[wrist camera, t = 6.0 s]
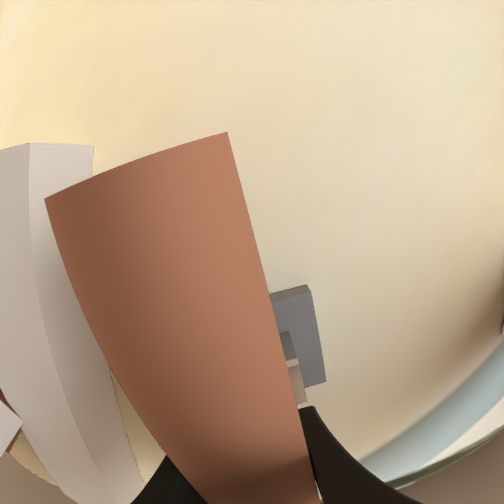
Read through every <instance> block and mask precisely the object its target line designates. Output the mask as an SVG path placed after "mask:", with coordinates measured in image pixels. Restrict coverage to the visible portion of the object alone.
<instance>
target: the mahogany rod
mask: <svg viewBox="0 0 504 504" xmlns="http://www.w3.org/2000/svg"><path fill="white" fill-rule="evenodd" d="M44 201H45V205H46V209H47V213H48V216H49V220H50V223H51V227H52V230H53V233H54V236H55V240H56V243H57V246H58V249H59V252H60V255H61V258H62V260H63V263H64V266H65V269H66V272H67V274H68V277H69V279H70V282H71V285H72V287H73V290H74V292H75V295H76V297H77V299H78V302H79V304H80V306H81V309H82V311H83V313H84V316H85V318H86V320H87V322H88V324H89V326H90V329H91V331H92V333H93V335H94V337H95V339H96V341H97V343H98V345H99V347H100V349H101V351H102V353H103V355H104V357H105V359H106V360H107V362H108V364H109V366H110V368H111V370H112V371H113V373H114V375H115V377H116V379H117V380H118V382H119V384H120V386H121V387H122V389H123V391H124V392H125V394H126V396H127V397H128V399H129V400H130V402H131V404H132V405H133V407H134V408H135V410H136V412H137V413H138V415H139V416H140V418H141V419H142V421H143V422H144V424H145V425H146V427H147V428H148V430H149V431H150V432H151V434H152V435H153V437H154V438H155V439H156V441H157V442H158V444H159V445H160V446H161V448H162V449H163V450H164V452H165V453H166V454H167V456H168V457H169V458H170V460H171V461H172V462H173V463H174V465H175V466H176V467H177V468H178V470H179V471H180V472H181V473H182V475H183V476H184V477H185V478H186V479H187V481H188V482H189V483H190V484H191V485H192V486H193V488H194V489H195V490H196V491H197V492H198V493H199V494H200V496H201V497H202V498H203V499H204V500H205V501H206V502H207V503H208V504H321V503H320V499H319V495H318V490H317V486H316V482H315V478H314V474H313V470H312V466H311V461H310V457H309V453H308V449H307V445H306V441H305V437H304V433H303V429H302V425H301V421H300V417H299V412H298V408H297V404H296V400H295V396H294V392H293V388H292V384H291V380H290V376H289V372H288V368H287V364H286V360H285V356H284V352H283V348H282V344H281V340H280V336H279V332H278V328H277V324H276V320H275V316H274V312H273V308H272V304H271V300H270V296H269V292H268V289H267V285H266V281H265V277H264V273H263V269H262V265H261V261H260V257H259V253H258V249H257V245H256V241H255V238H254V234H253V230H252V226H251V222H250V218H249V214H248V210H247V206H246V203H245V199H244V195H243V191H242V187H241V183H240V179H239V176H238V172H237V168H236V164H235V160H234V156H233V153H232V149H231V145H230V141H229V137H228V133H227V132H225V133H221V134H217V135H213V136H210V137H206V138H203V139H199V140H196V141H192V142H189V143H186V144H182V145H179V146H176V147H173V148H170V149H166V150H163V151H160V152H157V153H154V154H151V155H149V156H146V157H143V158H140V159H137V160H134V161H132V162H129V163H126V164H124V165H121V166H118V167H116V168H113V169H111V170H108V171H106V172H103V173H101V174H98V175H96V176H93V177H91V178H88V179H86V180H84V181H81V182H79V183H77V184H75V185H72V186H70V187H68V188H66V189H63V190H61V191H59V192H57V193H55V194H53V195H51V196H49V197H47V198H44Z"/></svg>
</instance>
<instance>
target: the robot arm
mask: <svg viewBox="0 0 504 504" xmlns="http://www.w3.org/2000/svg"><path fill="white" fill-rule="evenodd" d="M502 335H503V336H504V325H503V330H502ZM298 412H299V417H300V421H301V425H302V429H303V433H304V437H305V441H306V445H307V449H308V453H309V457H310V461H311V466H312V470H313V474H314V478H315V480H316V483H317V486H318V488H319V491H320V494H321V497H322V499H323V502H324V504H422V503H420V502H418V501H416V500H414V499H412V498H410V497H408V496H406V495H404V494H402V493H400V492H399V491H397V490H395V489H394V488H392V487H391V486H389V485H387V484H386V483H384V482H383V481H381V480H380V479H379V478H377V477H376V476H375V475H373V474H372V473H371V472H369V471H368V470H367V469H366V468H365V467H363V466H362V465H361V464H360V463H359V462H358V461H357V460H356V459H354V458H353V457H352V456H351V455H350V454H349V453H348V452H347V451H346V450H345V448H344V447H343V446H342V445H341V444H340V443H339V442H338V441H337V439H336V438H335V437H334V436H333V435H332V433H331V432H330V431H329V430H328V428H327V427H326V425H325V424H324V423H323V421H322V419H321V418H320V416H319V414H318V413H317V411H316V409H315V407H314V406H309V407H305V408H301V409H298ZM130 504H208V503H207V502H206V501H205V500H204V499H203V498H202V497H201V496H200V494H199V493H198V492H197V491H196V490H195V489H194V488H193V486H192V485H191V484H190V483H189V482H188V481H187V479H186V478H185V477H184V476H183V475H182V473H181V472H180V471H179V470H178V468H177V467H176V466H175V465H174V463H173V462H172V461H171V460H170V458H169V457H168V456H167V454H166V456H165V458H164V459H163V461H162V463H161V464H160V466H159V467H158V469H157V470H156V472H155V473H154V475H153V476H152V478H151V479H150V480H149V482H148V483H147V485H146V486H145V487H144V488H143V490H142V491H141V492H140V493H139V495H138V496H137V497H136V498H135V499H134V500H133V501H132V502H131V503H130Z"/></svg>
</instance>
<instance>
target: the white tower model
mask: <svg viewBox="0 0 504 504" xmlns="http://www.w3.org/2000/svg"><path fill="white" fill-rule="evenodd" d="M23 422H24V421H23V420H22V419H21V418H20V417H19V416H18V414H17V413H16V412H15V411H14V409H13V408H12V407H11V406H10V404H9V403H8V402H7V401H6V399H5V396H4V394H3V392H2V390H1V388H0V458H1V456H2V455H3V453H4V452H5V451H7V452H9V451H10V450H11V448H12V446H13V445H14V443H15V442H16V440H17V438H18V436H19V434H20V432H21V426H22V424H23Z"/></svg>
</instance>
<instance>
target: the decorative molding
mask: <svg viewBox="0 0 504 504" xmlns="http://www.w3.org/2000/svg"><path fill="white" fill-rule="evenodd" d="M93 154H94V146H91V145H77V144H58V143H27V144H23V145H18V146H14V147H10V148H7V149H3V150H0V388H1V390H2V392H3V394H4V396H5V399H6V401H7V402H8V403H9V404H10V406H11V407H12V408H13V409H14V411H15V412H16V413H17V414H18V416H19V417H20V418H21V419H22V420H23V421H24V422H23V424H22V426H21V430H22V431H23V433H24V435H25V437H26V438H27V440H28V442H29V443H30V445H31V447H32V448H33V450H34V451H35V453H36V455H37V456H38V458H39V459H40V461H41V462H42V464H43V465H44V467H45V468H46V470H47V471H48V473H49V474H50V475H51V477H52V478H53V480H54V481H55V482H56V484H57V485H58V486H59V488H60V489H61V490H62V491H63V493H64V494H65V495H66V496H68V497H70V498H71V499H73V500H74V501H76V502H77V503H79V504H130V503H131V502H132V501H133V500H134V499H135V498H136V497H137V496H138V495H139V493H140V492H141V491H142V490H143V488H144V487H145V485H144V482H143V480H142V477H141V475H140V472H139V470H138V467H137V464H136V461H135V459H134V456H133V453H132V450H131V447H130V444H129V441H128V437H127V434H126V431H125V427H124V424H123V420H122V417H121V413H120V409H119V406H118V402H117V398H116V394H115V390H114V386H113V382H112V378H111V373H110V369H109V364H108V362H107V360H106V359H105V357H104V355H103V353H102V351H101V349H100V347H99V345H98V343H97V341H96V339H95V337H94V335H93V333H92V331H91V329H90V326H89V324H88V322H87V320H86V318H85V316H84V313H83V311H82V309H81V306H80V304H79V302H78V299H77V297H76V295H75V292H74V290H73V287H72V285H71V282H70V279H69V277H68V274H67V272H66V269H65V266H64V263H63V260H62V258H61V255H60V252H59V249H58V246H57V243H56V240H55V236H54V233H53V230H52V227H51V223H50V220H49V216H48V213H47V209H46V205H45V201H44V198H47V197H49V196H51V195H53V194H55V193H57V192H59V191H61V190H63V189H66V188H68V187H70V186H72V185H75V184H77V183H79V182H81V181H84V180H86V179H88V178H91V177H93Z"/></svg>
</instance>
